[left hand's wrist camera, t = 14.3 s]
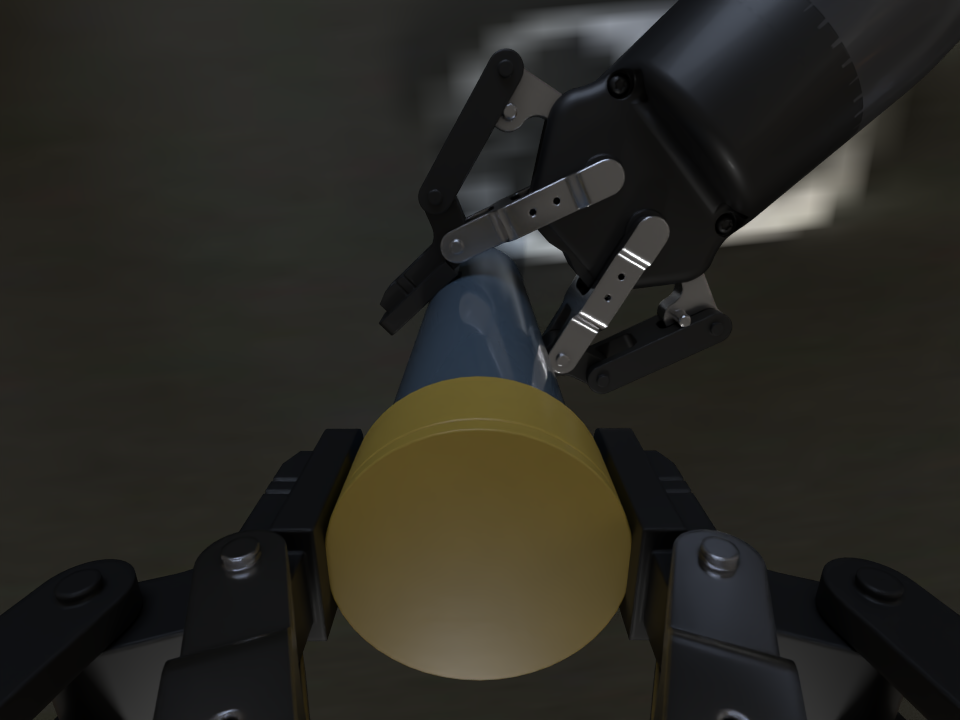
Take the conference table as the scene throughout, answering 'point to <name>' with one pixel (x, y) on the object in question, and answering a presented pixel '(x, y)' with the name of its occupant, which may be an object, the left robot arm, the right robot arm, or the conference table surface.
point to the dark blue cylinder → (480, 331)
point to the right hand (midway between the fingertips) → (433, 366)
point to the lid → (478, 532)
